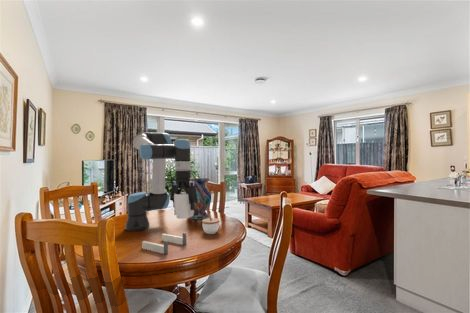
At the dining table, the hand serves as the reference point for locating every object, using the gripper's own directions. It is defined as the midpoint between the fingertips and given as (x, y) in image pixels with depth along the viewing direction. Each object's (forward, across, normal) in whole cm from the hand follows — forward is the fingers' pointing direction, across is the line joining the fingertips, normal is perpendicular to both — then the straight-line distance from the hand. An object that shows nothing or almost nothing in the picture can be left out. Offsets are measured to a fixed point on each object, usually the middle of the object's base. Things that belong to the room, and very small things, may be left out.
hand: (183, 215), depth 120 cm
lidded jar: (+18, -5, +30) cm, 35 cm away
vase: (+18, -35, +58) cm, 70 cm away
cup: (+1, 0, 0) cm, 1 cm away
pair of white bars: (+18, -14, 0) cm, 22 cm away
